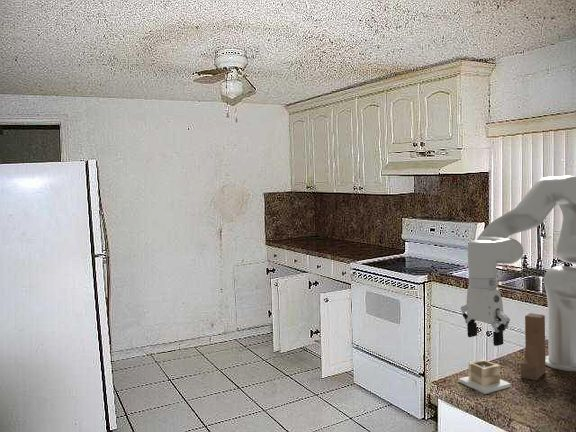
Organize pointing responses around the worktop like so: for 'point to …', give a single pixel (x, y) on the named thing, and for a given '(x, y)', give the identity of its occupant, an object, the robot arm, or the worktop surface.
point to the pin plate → (484, 388)
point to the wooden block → (534, 347)
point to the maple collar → (484, 372)
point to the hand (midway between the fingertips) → (485, 340)
